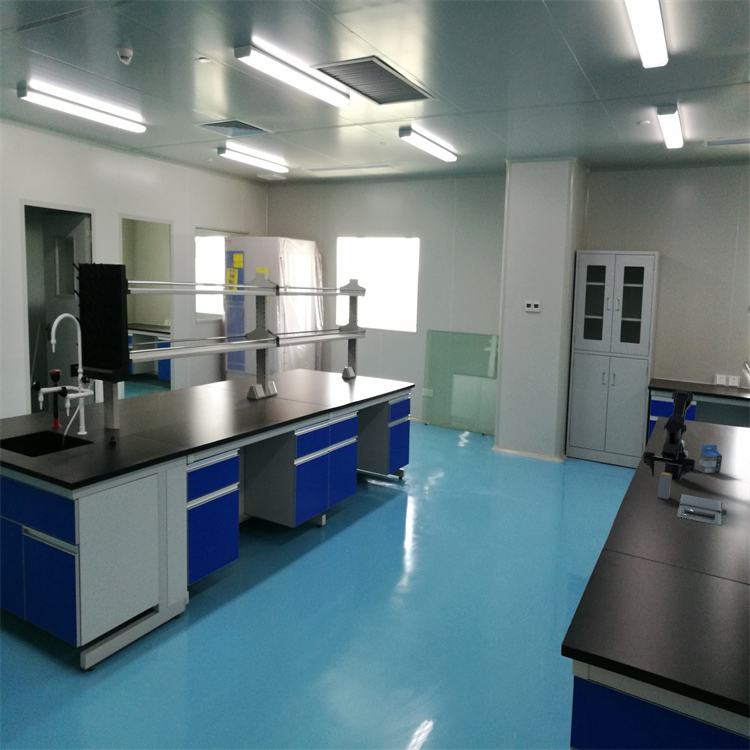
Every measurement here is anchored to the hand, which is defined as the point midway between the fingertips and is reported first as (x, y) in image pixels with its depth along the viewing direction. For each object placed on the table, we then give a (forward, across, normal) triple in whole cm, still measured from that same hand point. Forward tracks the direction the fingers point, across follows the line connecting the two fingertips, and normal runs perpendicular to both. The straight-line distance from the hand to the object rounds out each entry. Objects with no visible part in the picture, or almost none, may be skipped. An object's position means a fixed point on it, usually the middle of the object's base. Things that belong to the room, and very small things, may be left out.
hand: (665, 479), depth 242 cm
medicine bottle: (-36, -1, +46) cm, 59 cm away
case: (+9, +14, +1) cm, 17 cm away
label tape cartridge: (-33, +13, +43) cm, 56 cm away
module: (+5, 0, +6) cm, 8 cm away
